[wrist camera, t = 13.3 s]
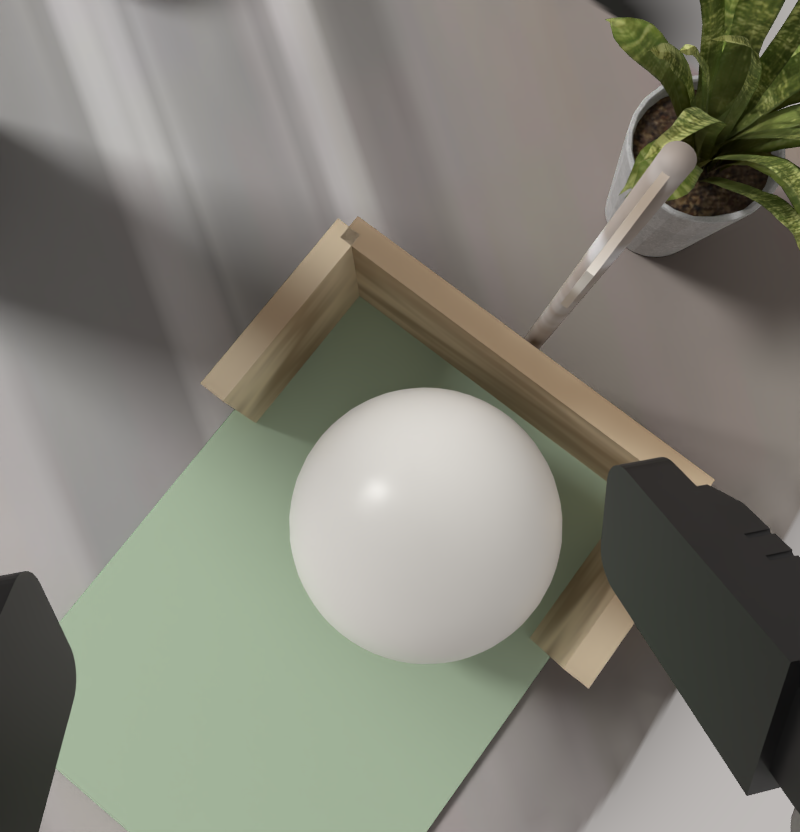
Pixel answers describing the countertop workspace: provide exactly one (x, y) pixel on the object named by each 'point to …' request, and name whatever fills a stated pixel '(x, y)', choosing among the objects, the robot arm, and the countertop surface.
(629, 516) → the robot arm
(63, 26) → the countertop surface
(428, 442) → the ball
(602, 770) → the countertop surface
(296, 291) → the wooden u-shaped frame
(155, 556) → the green mat
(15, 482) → the countertop surface
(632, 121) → the house plant
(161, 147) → the countertop surface
